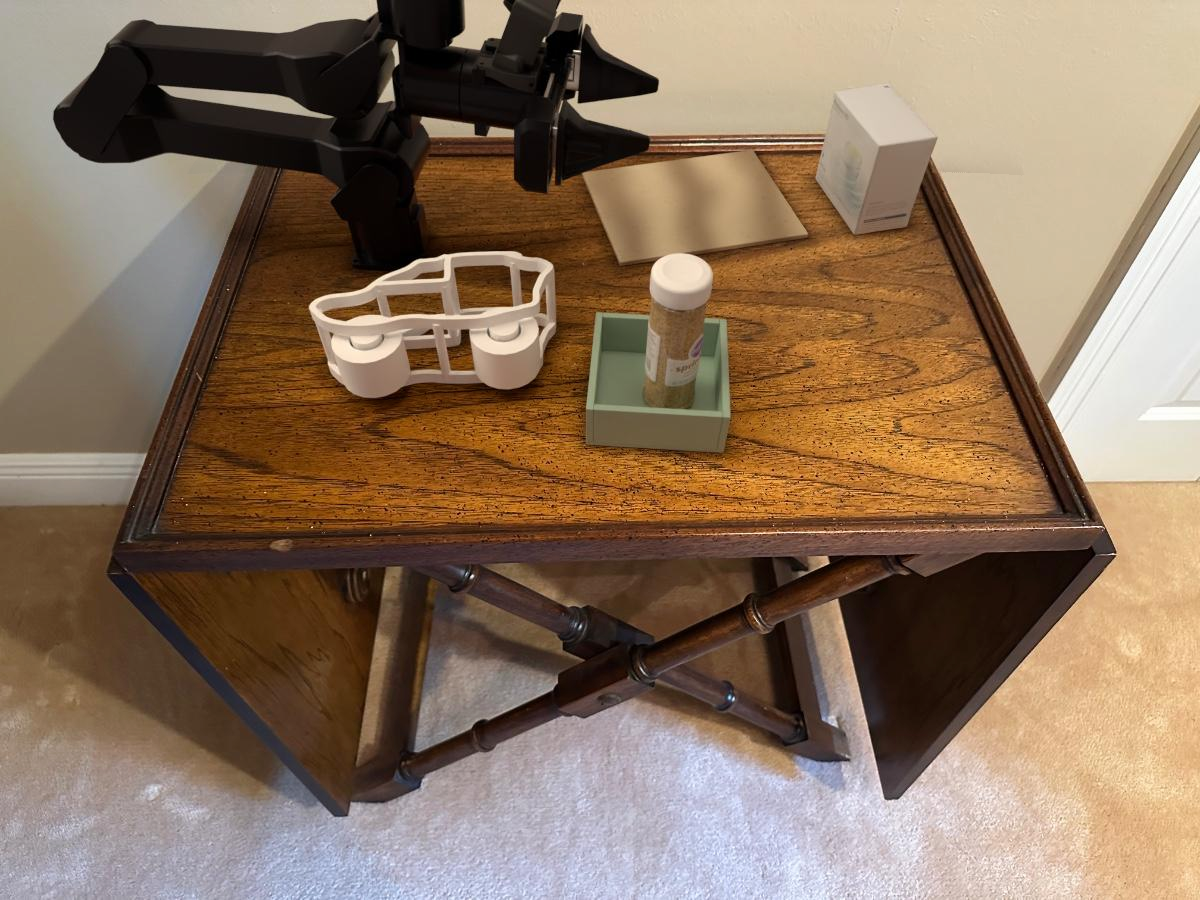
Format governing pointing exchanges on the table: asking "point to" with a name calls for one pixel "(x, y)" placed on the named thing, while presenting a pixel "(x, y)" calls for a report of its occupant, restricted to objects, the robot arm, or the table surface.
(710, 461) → the table surface
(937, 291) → the table surface
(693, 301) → the sprinkles bottle
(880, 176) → the cosmetics box
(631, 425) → the bin
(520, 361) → the car outline toy
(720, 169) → the mat
